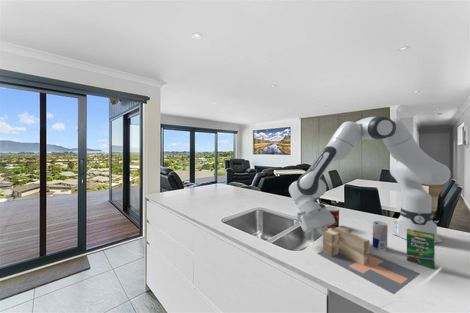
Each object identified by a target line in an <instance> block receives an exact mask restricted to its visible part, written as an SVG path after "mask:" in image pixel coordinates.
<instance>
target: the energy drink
mask: <svg viewBox="0 0 470 313" xmlns="http://www.w3.org/2000/svg"><path fill="white" fill-rule="evenodd" d="M388 227H389V225H388V224H387V223H386V222H384V221H380V220H379V221H378V220H375V221H373V222H372V248H373V249H374V250H377V251H380V252H387V251H388V230H389V229H388Z"/></svg>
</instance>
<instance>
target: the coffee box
mask: <svg viewBox="0 0 470 313" xmlns="http://www.w3.org/2000/svg"><path fill="white" fill-rule="evenodd" d="M435 250H436V248H435V243H434V234H432V233H426V232H422V231H417V230H413V229H407V240H406V262H407V261H408V262H410V263H413V264H416V265H418V266H422V267H426V268H428V269H431V270H434V269H435V265H436V264H435Z"/></svg>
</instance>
